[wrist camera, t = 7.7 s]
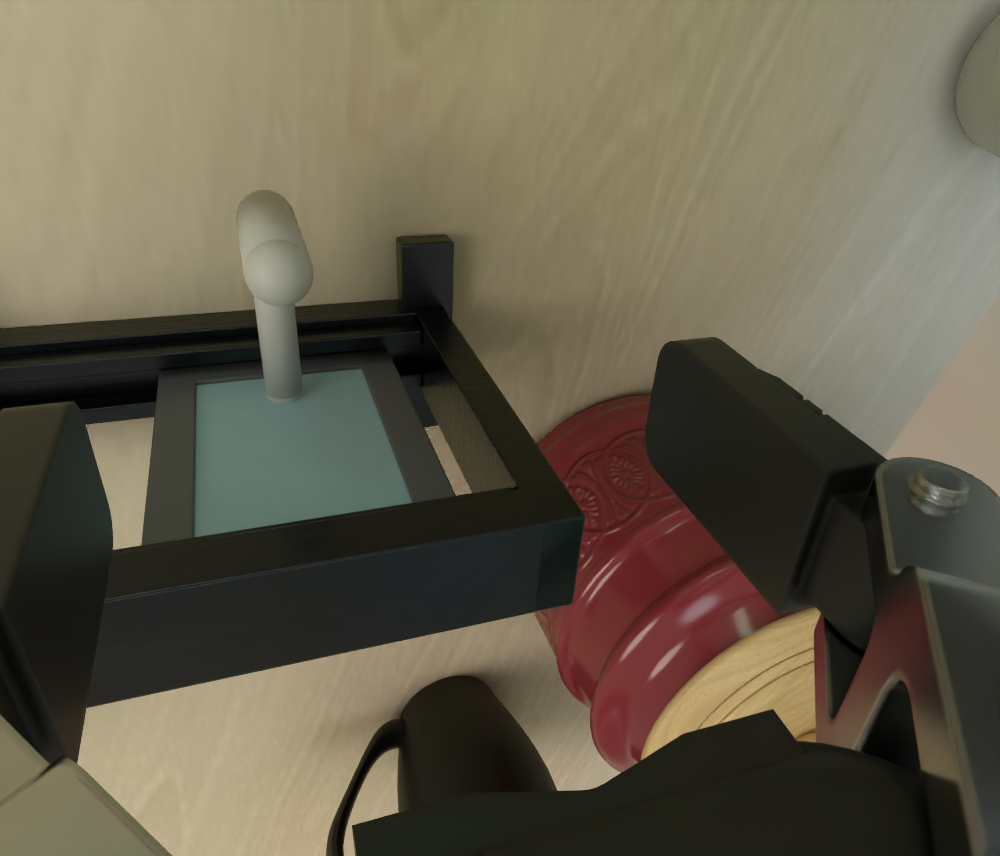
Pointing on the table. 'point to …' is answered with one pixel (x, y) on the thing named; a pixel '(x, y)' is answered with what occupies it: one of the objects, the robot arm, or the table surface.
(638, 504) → the kitchen canister
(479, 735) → the mug
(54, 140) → the table surface
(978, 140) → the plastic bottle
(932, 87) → the table surface
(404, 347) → the window frame
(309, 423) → the window pane
